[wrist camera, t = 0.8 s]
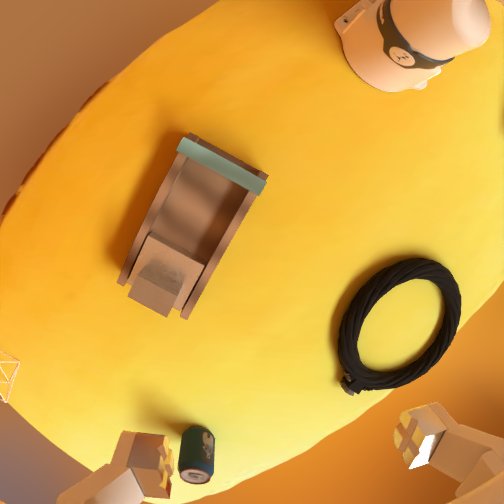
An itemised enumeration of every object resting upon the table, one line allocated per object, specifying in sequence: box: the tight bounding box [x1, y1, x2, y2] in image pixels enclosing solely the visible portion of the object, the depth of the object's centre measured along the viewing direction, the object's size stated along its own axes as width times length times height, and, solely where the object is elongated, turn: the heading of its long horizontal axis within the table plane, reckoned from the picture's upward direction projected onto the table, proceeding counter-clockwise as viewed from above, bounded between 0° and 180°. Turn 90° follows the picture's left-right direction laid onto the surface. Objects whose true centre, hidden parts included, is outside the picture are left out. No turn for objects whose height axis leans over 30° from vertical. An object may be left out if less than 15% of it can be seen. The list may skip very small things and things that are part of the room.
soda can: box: [178, 426, 215, 484], centre depth 50 cm, size 7×7×12 cm
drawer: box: [117, 133, 269, 320], centre depth 42 cm, size 24×12×6 cm, turn 150°
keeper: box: [127, 232, 206, 317], centre depth 42 cm, size 8×9×7 cm
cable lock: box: [338, 258, 461, 396], centre depth 51 cm, size 28×4×30 cm
